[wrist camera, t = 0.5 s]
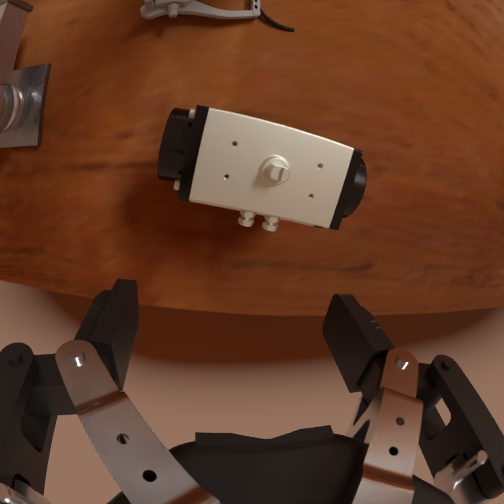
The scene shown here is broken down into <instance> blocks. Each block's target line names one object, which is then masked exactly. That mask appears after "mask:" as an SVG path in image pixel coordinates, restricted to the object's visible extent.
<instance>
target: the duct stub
mask: <svg viewBox="0 0 504 504" xmlns="http://www.w3.org/2000/svg"><path fill="white" fill-rule="evenodd" d="M50 68H51V64H42V65H37V66H32V67H27V68H23V69H18V70H14V71H13V73H12V79H11V84H10V85H11V86H12V88H13V91H14V109H13V113H12V116H11V119H10V121H9V123H8V125H7V127H6V128H5V129H4V131H3V132H2V133H1V134H0V148H5V147H18V146H34V145H41V135H42V123H43V113H44V105H45V97H46V91H47V84H48V79H49V73H50Z"/></svg>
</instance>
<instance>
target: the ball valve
mask: <svg viewBox="0 0 504 504" xmlns="http://www.w3.org/2000/svg"><path fill="white" fill-rule="evenodd" d="M362 154H363V151H360V150H358V149H355V148H352V147H350V146H347V145H344V144H341V143H339V142H336V141H333V140H330V139H327V138H324V137H321V136H318V135H315V134H312V133H309V132H306V131H302V130H299V129H296V128H292V127H289V126H286V125H282V124H278V123H275V122H271V121H267V120H263V119H260V118H256V117H252V116H247V115H243V114H239V113H234V112H230V111H225V110H220V109H215V108H209V107H205V106H200V105H197V107H196V109H194V108H191V109H190V110H187V109H181V108H174V109H173V110H172V111H171V113H170V115H169V118H168V120H167V123H166V126H165V130H164V133H163V137H162V142H161V146H160V152H159V159H158V178H159V179H160V180H164V181H170V182H175V183H174V190H179V191H178V197H177V198H179V200H184V201H190V202H195V203H201V204H206V205H212V206H217V207H222V208H228V209H233V210H238V211H240V214H241V215H242V216H241V217H239V219H238V223H239V224H240V225H242V226H246V227H251V226H252V225H253V223H254V220H253V219H251V218H254V217H255V215H256V214H258V215H263V216H265V217H264V218H265V220H266V221H264V222H263V225H262V227H263V228H264V229H265V230H268V231H276V229H277V226H278V225H277V224H275V223H278V222H279V220H280V219H282V220H287V221H291V222H296V223H301V224H305V225H310V226H314V227H319V228H323V227H324V228H329V229H333V230H338V229H339V226H340V223H341V220H342V218H345V217H348V216H350V215H351V214H352V213H353V212H354V211H355V210H356V208H357V207H358V205H359V204H360V202H361V199H362V197H363V194H364V191H365V187H366V178H367V173H366V166H365V163H364V161H363V159H362V158H361V157H362Z"/></svg>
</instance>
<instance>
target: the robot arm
mask: <svg viewBox="0 0 504 504" xmlns="http://www.w3.org/2000/svg"><path fill="white" fill-rule="evenodd" d="M138 324H139V306H138V291H137V282H136V280H127V279H117V280H116V282H115V284H114V286H113V288H112V290H111V291H110V290H103V291H102V292H101V293H100V294H98V295H97V296H96V297H95V298H94V300H93V302H92V304H91V307H90V308H89V310H88V312H87V314H86V316H85V318H84V320H83V322H82V324H81V326H80V328H79V330H78V332H77V334H76V337H75V339H74V340H71V341H68V342H66V343H64V344H63V345H61V346H60V347H59V348H58V350H57V352H56V353H55V354H45V355H34V354H33V352H32V350H31V348H30V347H29V346H28V345H26V344H24V343H12V344H10V345H7V346H6V347H5V348H3V349H2V351H1V352H0V504H51V503H50V501H49V500H48V499H47V498H45V497H44V496H43V494H44V486H45V478H46V471H47V465H48V459H49V453H50V448H51V443H52V438H53V433H54V429H55V425H56V420H57V416H58V415H71V414H77V415H78V417H79V419H80V421H81V423H82V425H83V427H84V429H85V431H86V433H87V434H88V436H89V438H90V440H91V442H92V444H93V445H94V447H95V449H96V451H97V452H98V454H99V456H100V458H101V459H102V461H103V463H104V464H105V466H106V467H107V469H108V471H109V472H110V473H111V475H112V477H113V478H114V480H115V481H116V483H117V484H118V486H119V487H120V489H121V490H122V491H121V492H120V493H119V494H117V496H115V497H114V498H113V499H112V500H111V501H110V502H108V503H107V504H487V503H488V502H490V501H491V500H493V499H494V498H496V497H498V496H499V495H501V494H502V493H503V492H504V435H503V434H502V432H501V430H500V429H499V427H498V425H497V424H496V422H495V420H494V418H493V417H492V415H491V414H490V412H489V411H488V409H487V407H486V406H485V404H484V402H483V401H482V399H481V398H480V396H479V395H478V393H477V392H476V390H475V389H474V387H473V386H472V384H471V383H470V381H469V380H468V378H467V377H466V376H465V374H464V373H463V371H462V370H461V368H460V367H459V366H458V364H457V363H456V362H455V361H454V360H453V359H452V358H450V357H448V356H445V355H438V356H436V357H435V358H434V360H433V361H432V363H431V364H425V363H418V361H417V359H416V358H415V357H414V356H413V355H412V354H411V353H410V352H408V351H406V350H403V349H399V348H395V347H394V346H393V344H392V343H391V341H390V340H389V338H388V337H387V336H386V334H385V333H384V331H383V330H382V329H380V326H379V324H378V323H377V322H376V320H375V319H374V317H373V316H372V314H371V313H370V312H369V311H367V310H366V309H365V308H364V307H362V306H360V305H359V303H358V302H357V300H356V299H355V298H354V296H353V295H351V294H335V295H334V296H333V297H332V300H331V303H330V305H329V308H328V311H327V314H326V317H325V319H324V322H323V327H322V331H323V336H324V338H325V340H326V343H327V345H328V347H329V349H330V351H331V353H332V355H333V358H334V360H335V362H336V364H337V366H338V368H339V370H340V372H341V375H342V376H343V379H344V381H345V383H346V385H347V388H348V390H349V392H350V393H353V392H359V391H361V392H362V396H361V397H360V399H359V401H358V404H357V407H356V410H355V413H354V416H353V419H352V421H351V424H350V426H349V429H348V432H347V433H346V435H345V436H344V435H339V434H333V431H332V429H331V426H330V425H327V426H321V427H314V428H305V429H299V430H296V431H293V432H291V433H288V434H285V435H282V436H279V437H275V438H272V439H260V438H255V437H249V436H243V435H238V434H233V433H199V432H196V433H195V434H196V435H195V441H193V442H188V443H184V444H181V445H178V446H176V447H173V448H171V449H169V450H167V449H166V447H165V446H164V445H163V444H162V442H161V441H160V440H159V439H158V437H157V436H156V435H155V433H154V432H153V431H152V429H151V428H150V427H149V425H148V424H147V423H146V421H145V420H144V419H143V417H142V416H141V415H140V413H139V412H138V410H137V409H136V407H135V406H134V404H133V403H132V402H131V400H130V399H129V397H128V396H127V394H126V393H125V392H120V391H123V386H124V382H125V378H126V373H127V369H128V365H129V360H130V356H131V352H132V348H133V344H134V340H135V337H136V333H137V329H138ZM441 398H443V400H444V402H445V404H446V405H447V407H448V409H449V411H450V413H451V420H450V422H449V424H448V425H447V426H445V424H444V422H443V420H442V418H441V416H440V415H439V413H438V411H437V409H436V407H435V405H436V404H437V403H438V402H439V400H440V399H441ZM418 444H419V446H420V448H421V450H422V453H423V455H424V457H425V460H426V462H427V464H428V467H429V469H430V471H431V474H432V476H433V479H434V485H431V484H429V483H427V482H426V481H424V480H422V479H420V478H418V477H416V476H415V475H413V470H414V465H415V460H416V454H417V449H418Z"/></svg>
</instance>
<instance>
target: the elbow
mask: <svg viewBox="0 0 504 504" xmlns="http://www.w3.org/2000/svg"><path fill="white" fill-rule="evenodd" d="M33 7H34V6H32V5H30V4H28V3H26V2H24V1H22V0H0V134H1V133H2V132H3V131H4V129H5V128H6V127H7V125H8V123H9V121H10V119H11V116H12V113H13V109H14V91H13V88H12V86H11V85H10V84H11V79H12V73H13V68H14V64H15V59H16V55H17V51H18V47H19V43H20V39H21V36H22V32H23V29H24V26H25V22H26V19H27V16H28V13H29V12H31V11H32V10H33Z"/></svg>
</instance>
